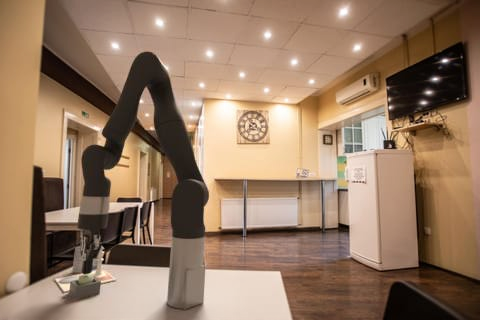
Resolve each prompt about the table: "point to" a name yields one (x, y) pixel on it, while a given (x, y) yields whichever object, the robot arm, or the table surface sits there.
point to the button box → (84, 289)
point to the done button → (85, 279)
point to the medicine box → (81, 261)
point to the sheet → (65, 281)
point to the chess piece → (100, 266)
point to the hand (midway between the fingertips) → (86, 273)
